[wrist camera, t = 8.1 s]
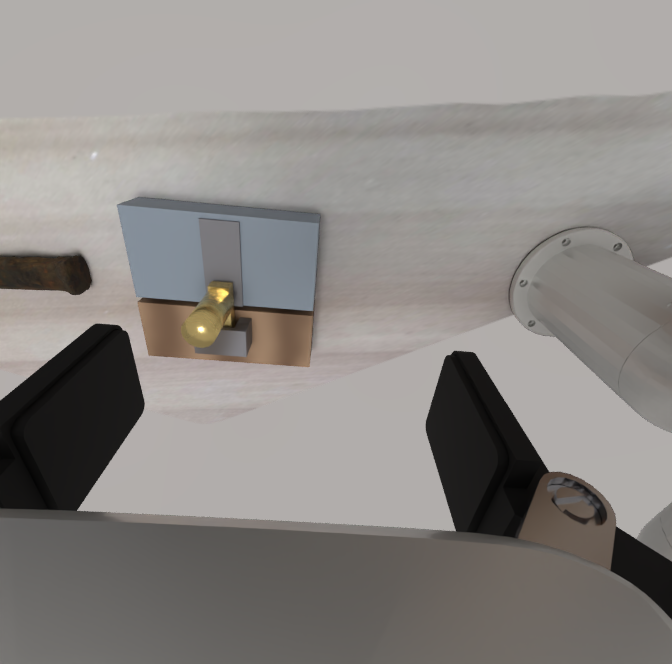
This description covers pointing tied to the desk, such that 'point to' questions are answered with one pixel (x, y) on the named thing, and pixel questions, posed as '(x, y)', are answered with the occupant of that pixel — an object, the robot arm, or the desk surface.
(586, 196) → the desk surface
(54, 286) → the hand tool
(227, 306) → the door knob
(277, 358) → the door jamb
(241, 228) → the door leaf
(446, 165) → the desk surface
